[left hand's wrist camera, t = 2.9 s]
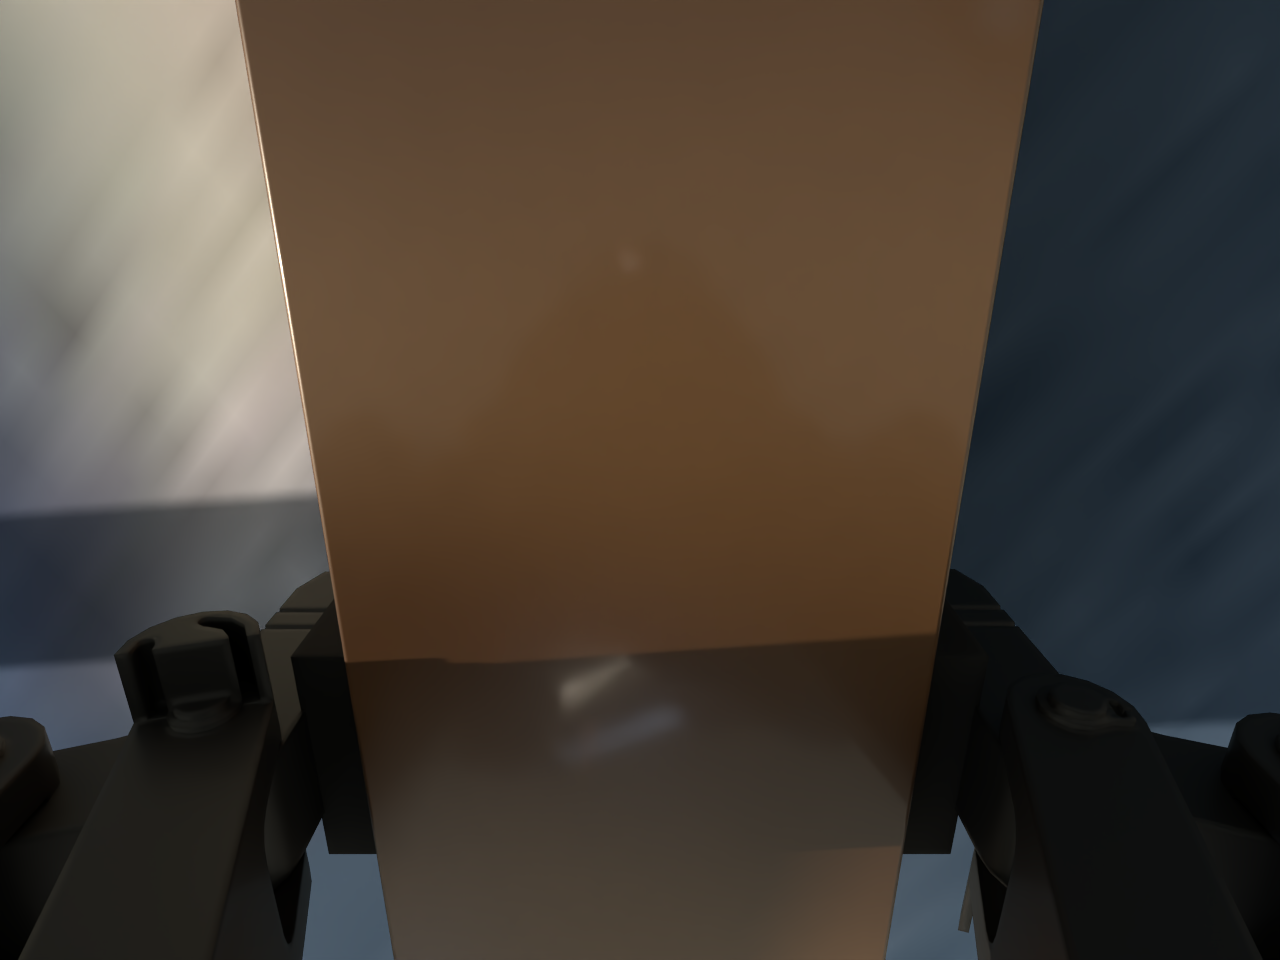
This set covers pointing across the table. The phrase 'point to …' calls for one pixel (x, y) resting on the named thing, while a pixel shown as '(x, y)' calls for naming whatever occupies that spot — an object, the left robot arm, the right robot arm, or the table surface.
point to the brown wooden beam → (639, 440)
